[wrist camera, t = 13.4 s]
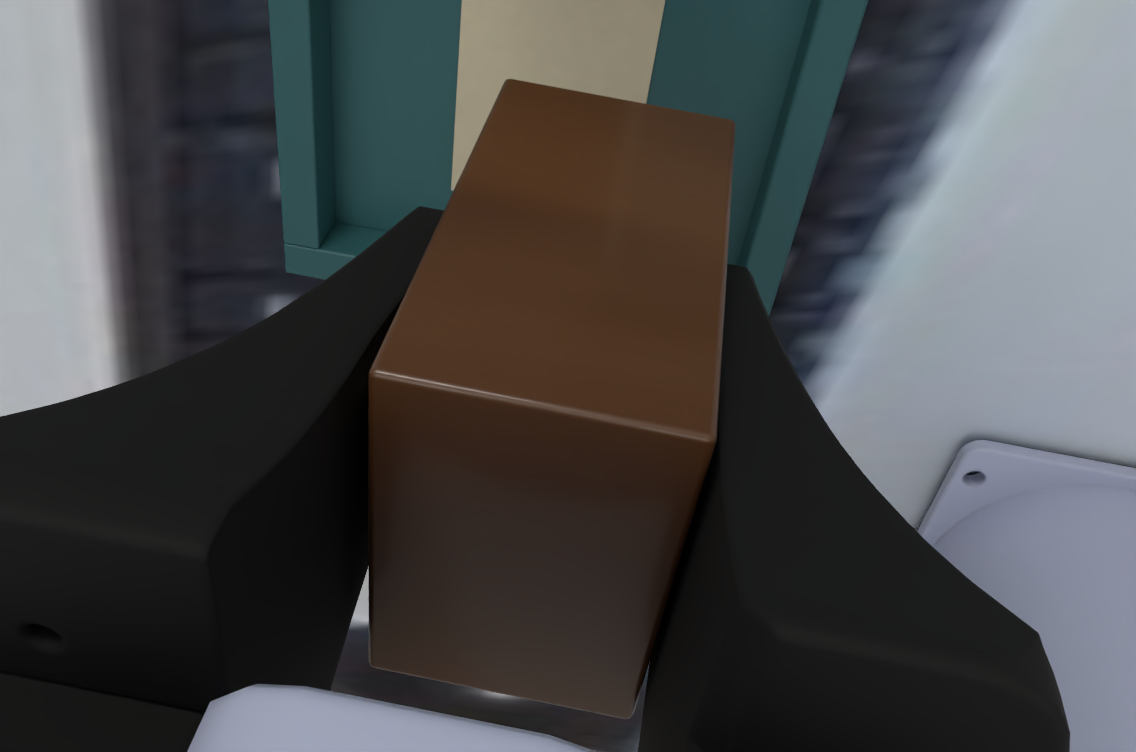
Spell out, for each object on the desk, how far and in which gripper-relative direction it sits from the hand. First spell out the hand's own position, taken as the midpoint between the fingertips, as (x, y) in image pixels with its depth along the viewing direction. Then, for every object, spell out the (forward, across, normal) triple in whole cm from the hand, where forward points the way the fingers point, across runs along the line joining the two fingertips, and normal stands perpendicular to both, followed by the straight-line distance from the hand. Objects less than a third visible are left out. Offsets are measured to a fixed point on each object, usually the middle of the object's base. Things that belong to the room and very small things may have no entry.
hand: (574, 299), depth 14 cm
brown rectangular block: (+1, 0, 0) cm, 1 cm away
